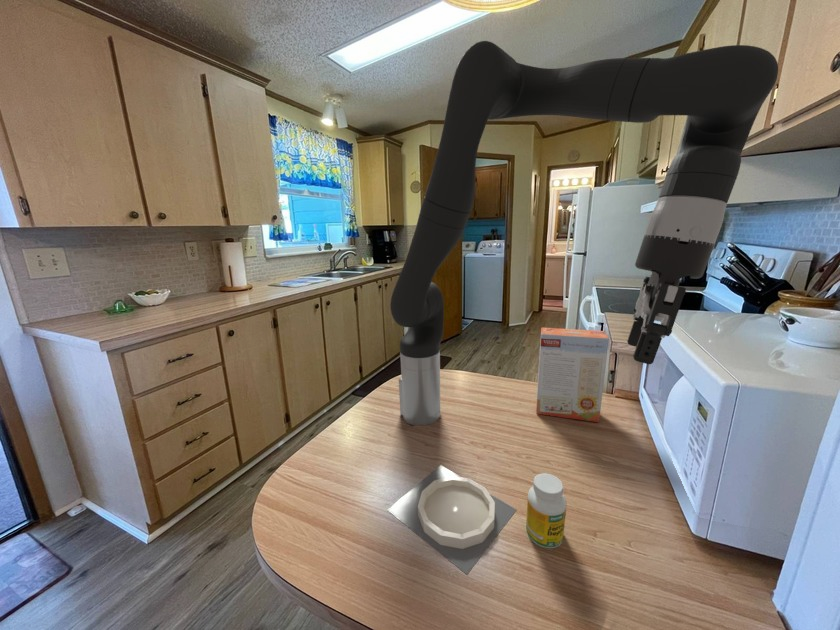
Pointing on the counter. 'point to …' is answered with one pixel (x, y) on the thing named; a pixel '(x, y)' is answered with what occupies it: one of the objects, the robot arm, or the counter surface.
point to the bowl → (456, 512)
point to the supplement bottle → (546, 511)
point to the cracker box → (571, 373)
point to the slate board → (459, 557)
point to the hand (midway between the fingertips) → (638, 353)
